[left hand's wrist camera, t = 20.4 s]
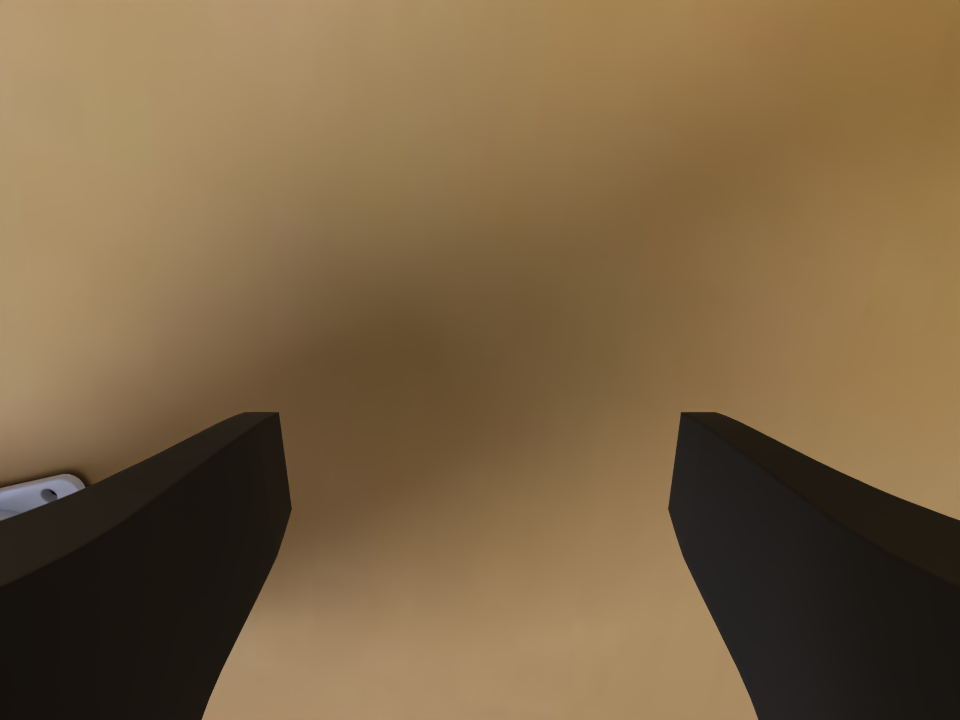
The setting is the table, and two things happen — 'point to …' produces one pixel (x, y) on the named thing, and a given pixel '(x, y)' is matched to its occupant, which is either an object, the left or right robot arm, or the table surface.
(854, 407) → the table surface
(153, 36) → the table surface
